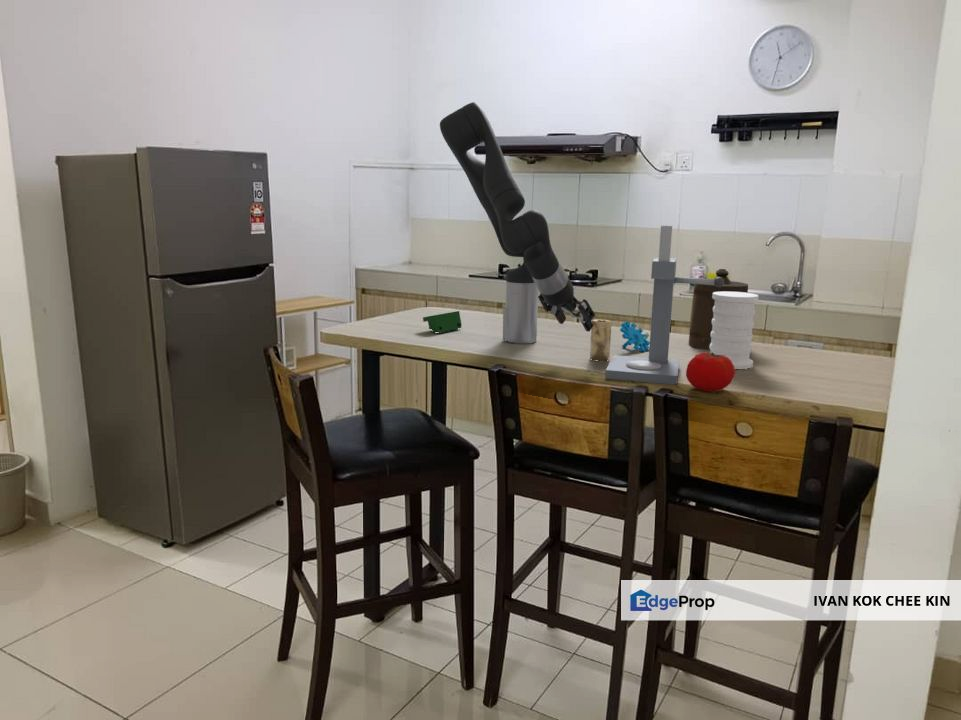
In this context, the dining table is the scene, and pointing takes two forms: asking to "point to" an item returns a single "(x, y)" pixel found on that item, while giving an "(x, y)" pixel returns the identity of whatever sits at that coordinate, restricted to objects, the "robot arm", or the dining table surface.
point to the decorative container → (733, 326)
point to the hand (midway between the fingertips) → (576, 325)
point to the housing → (600, 340)
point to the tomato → (710, 372)
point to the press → (657, 323)
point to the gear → (634, 336)
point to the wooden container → (708, 308)
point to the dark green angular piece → (444, 321)
